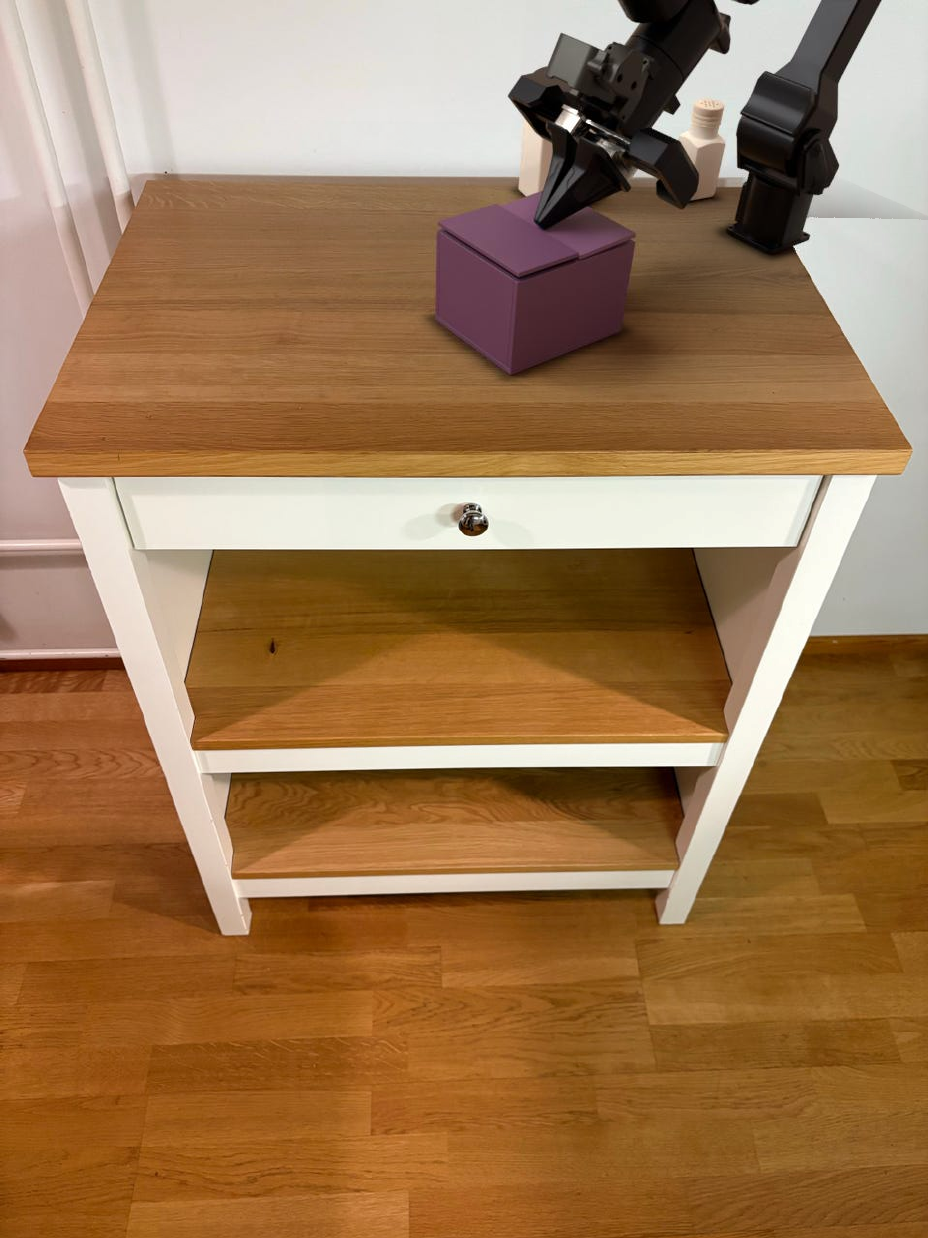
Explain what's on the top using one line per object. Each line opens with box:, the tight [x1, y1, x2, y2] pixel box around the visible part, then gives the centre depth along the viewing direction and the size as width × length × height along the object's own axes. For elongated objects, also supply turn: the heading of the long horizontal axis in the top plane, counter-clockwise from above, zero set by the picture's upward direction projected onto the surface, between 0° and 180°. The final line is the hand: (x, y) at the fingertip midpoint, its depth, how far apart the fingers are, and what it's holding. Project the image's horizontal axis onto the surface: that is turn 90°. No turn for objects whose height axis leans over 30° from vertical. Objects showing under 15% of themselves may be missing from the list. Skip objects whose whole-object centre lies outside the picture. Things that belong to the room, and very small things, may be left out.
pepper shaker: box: [677, 98, 727, 201], centre depth 108 cm, size 4×4×10 cm
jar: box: [518, 65, 596, 197], centre depth 105 cm, size 9×8×12 cm
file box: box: [434, 203, 636, 376], centre depth 87 cm, size 13×11×9 cm
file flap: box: [500, 191, 637, 260], centre depth 85 cm, size 6×11×1 cm, turn 37°
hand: (538, 225), depth 83 cm, fingers closed, pressing on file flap
